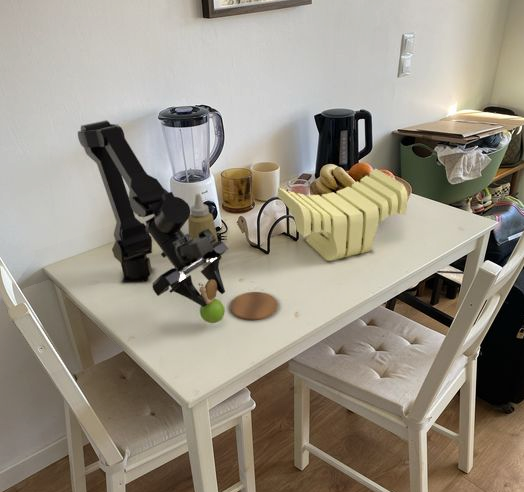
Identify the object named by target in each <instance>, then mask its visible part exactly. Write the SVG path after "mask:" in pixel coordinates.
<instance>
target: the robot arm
mask: <svg viewBox="0 0 524 492" xmlns="http://www.w3.org/2000/svg"><path fill="white" fill-rule="evenodd" d="M77 139H78V141H79V144H80V146H81V147H82V148H83V149H84V152H85V154H86V156H88V158H90V159H91V160H92V161H93V162H94V163H95V164H96V165H97V168H98V172H99V174H100V177H101V180H102V183H103V186H104V189H105V192H106V196H107V198H108V201H109V204H110V207H111V210H112V212H113V217H114V219H115V222H116V223H115V227H114V230H113V237H114V240H115V241H114V243H113V246H112V249H111V251H112V254H113V257H114V258H115V259H116V260H117V261H118V262H119V263H120V265H121V270H122V275H123V277H122V280H121V281H122V283H142V282H145V283H146V282H148V280H149V278H150V276H151V275H152V271H153V269H152V265H151V259H150V258H151V257H148V255H151V254H152V253H153V240H154V241H155V243H157V245H158V246H159V248H160V249H161V251H162V252H161V253H160V255H161V257H162V258H163V259H165V258H167V259H168V260H169V262H170V263H171V264H172V268H171V269H169V270H167V271H166V272H163V273H162V274H160V275H159V276H158V277H157V278H156V279H155V280H154V281H153V282H152V291H153V292H154V293H155V294H156V296H157V297H159V296H161V295H163V294H164V293H166V292H168V290H169V293H170V294H172V293H176V294H178V295H181V296H182V297H185V298H186V299H189V300H190V301H192V302H193V303H196V304H197V305H199V306H200V307H201V306H203V307H205V306H206V305H207V304H206V302H205V300H204V299H203V297H202V296H201V293H200V291H199V290H198V289H197V288H196V285H194V283H193V279H192V276H191V274H190V273H191V272H193V271H194V270H196V269H197V268H199V267H202V270H201V271H200V274H202V275H203V276H204V277H205V279H206V280H208V281H209V280H211V279H213V280H215V281H216V283H217V292H219V293H220V294H221V295H224V294H225V293H226V290H225V287H224V283H223V280H222V276H221V273H220V267H219V266H220V260H222V256H223V254H225V253H226V252H227V251H228V250H229V248H228V246H227V244H225V242H223V241H221V240H218V242H216V239H215V237H214V235H213V233H212V232H211V231H210V230H209V229H205V230H203V231H201V232H199V237H197V238H195V239H193V238H192V237H191V236H190V235H189V233H187V234H185V233H184V232H183V231H182V230H181V229H182V228H183V227H184V225H185V224H186V223H187V221H188V218H189V216H190V215H191V207H190V205H189V204H188V202H187V201H186V200H184V199H183V198H181V197H179V196H175V195H174V194H173V192H172V191H170V192H169V191H168V190H167V189H166V188H164V187H163V185H162V184H161V183H160V182H159V180H158V179H157V178H155V177H153V176H152V175H150V174H148V173H147V172H146V171H145V169H144V167H143V165H142V163H141V162H140V160H139V159H138V157H137V156H136V154H135V152H134V150H133V149H132V147H131V146H130V144H129V143H128V140H127V138H126V136H125V132H124V129H123V128H122V127H121V126H120V125H119V124H117V123H110V121H109V120H101V121H96V122H92V123H87V124H82V125H81V126H80V130H79V131H77ZM125 183H126V184H125ZM126 185H127V187H128V190H129V192H128V190H127V187H126ZM136 215H137V216H138V217H139V218H146V217H149V216H151V218H149V219H148V220H145V223H144V222H141V221H140V220H139V219H138V218H137V217H136ZM152 215H153V216H152ZM215 242H216V243H215ZM213 243H214V244H213ZM212 244H213V245H212ZM189 274H190V275H189ZM208 281H207V282H208ZM170 288H171V289H170Z"/></svg>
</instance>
